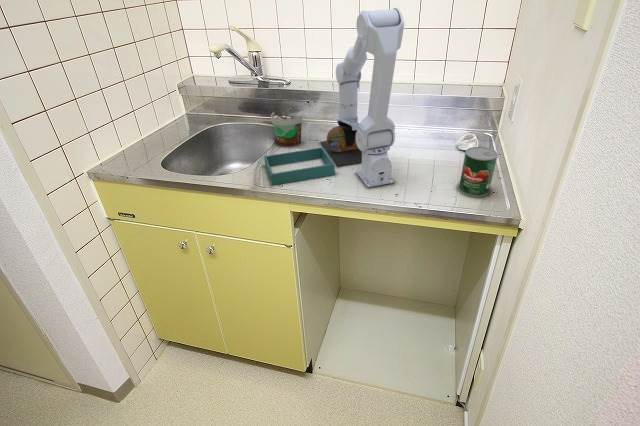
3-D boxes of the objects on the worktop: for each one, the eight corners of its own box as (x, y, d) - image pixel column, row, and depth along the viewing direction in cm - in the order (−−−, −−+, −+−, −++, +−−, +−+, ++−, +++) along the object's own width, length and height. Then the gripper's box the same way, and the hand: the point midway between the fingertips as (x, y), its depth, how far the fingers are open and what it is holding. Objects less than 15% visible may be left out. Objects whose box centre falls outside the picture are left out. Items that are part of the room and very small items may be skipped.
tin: (328, 153, 126) (328, 130, 120) (325, 149, 128) (325, 126, 123) (370, 147, 129) (372, 124, 123) (367, 143, 131) (368, 120, 126)
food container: (266, 144, 136) (262, 117, 131) (275, 137, 141) (272, 111, 135) (295, 149, 131) (293, 121, 126) (304, 143, 136) (302, 115, 130)
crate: (334, 174, 115) (334, 164, 113) (272, 185, 111) (270, 174, 109) (322, 156, 125) (322, 147, 124) (265, 166, 122) (264, 156, 120)
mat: (384, 159, 122) (384, 158, 122) (337, 166, 119) (337, 165, 119) (362, 136, 138) (362, 135, 138) (320, 143, 135) (320, 141, 135)
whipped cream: (478, 156, 123) (482, 143, 120) (457, 153, 124) (460, 139, 121) (477, 144, 129) (481, 131, 126) (456, 141, 130) (460, 128, 127)
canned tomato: (460, 196, 102) (467, 158, 96) (456, 181, 108) (463, 146, 102) (491, 197, 100) (500, 160, 94) (486, 183, 107) (494, 147, 101)
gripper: (329, 98, 124) (330, 137, 132) (343, 111, 113) (343, 153, 120) (349, 95, 126) (349, 134, 133) (365, 108, 114) (364, 150, 122)
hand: (348, 143), depth 127 cm, fingers closed on tin, 2 cm apart
